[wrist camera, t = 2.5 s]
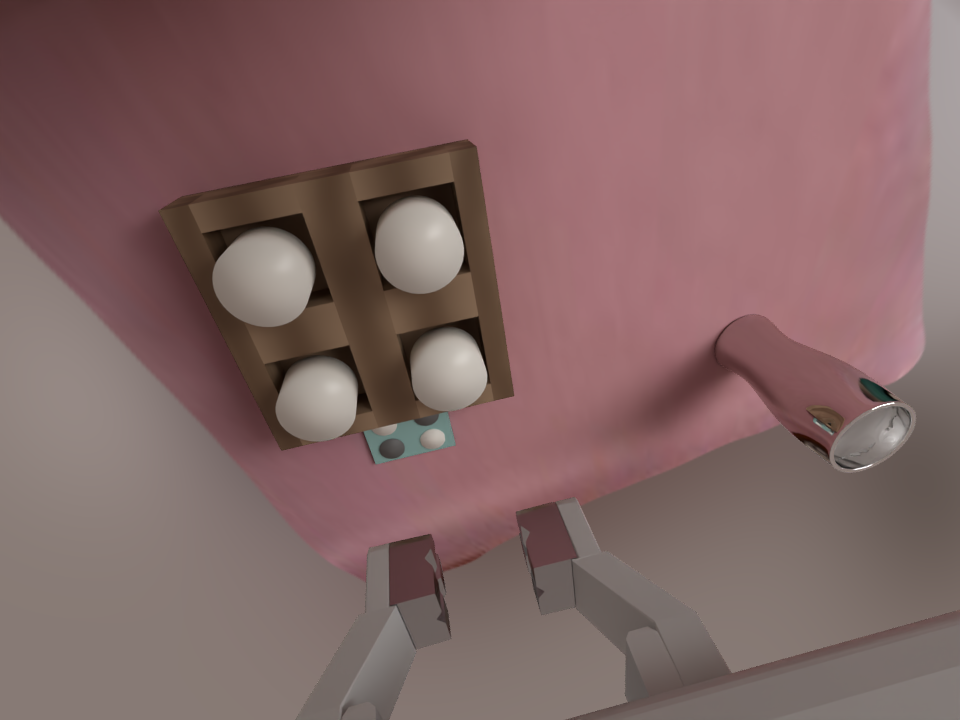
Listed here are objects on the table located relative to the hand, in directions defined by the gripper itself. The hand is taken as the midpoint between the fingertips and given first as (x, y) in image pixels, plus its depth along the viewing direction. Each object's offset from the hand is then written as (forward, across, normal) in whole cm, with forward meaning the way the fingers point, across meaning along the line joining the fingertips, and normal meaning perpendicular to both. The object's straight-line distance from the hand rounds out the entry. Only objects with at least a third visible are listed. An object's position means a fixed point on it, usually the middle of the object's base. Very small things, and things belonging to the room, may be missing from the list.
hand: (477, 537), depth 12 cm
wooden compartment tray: (+29, +5, +5) cm, 30 cm away
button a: (+26, 0, 0) cm, 26 cm away
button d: (+26, +10, +10) cm, 29 cm away
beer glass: (+29, -29, +18) cm, 45 cm away
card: (+29, +5, +19) cm, 35 cm away
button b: (+26, +10, 0) cm, 27 cm away
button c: (+26, 0, +10) cm, 27 cm away
